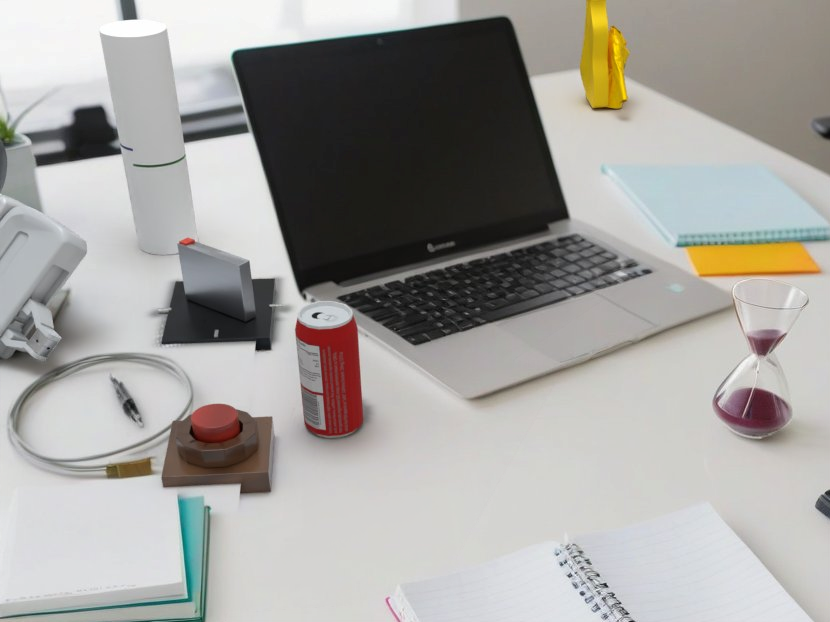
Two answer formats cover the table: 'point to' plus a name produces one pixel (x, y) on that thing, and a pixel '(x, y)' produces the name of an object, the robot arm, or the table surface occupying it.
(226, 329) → the panel
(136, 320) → the table surface
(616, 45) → the figure statuette
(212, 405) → the button
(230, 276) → the grey upright flat block
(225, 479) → the button block
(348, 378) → the soda can
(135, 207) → the cylindrical container
